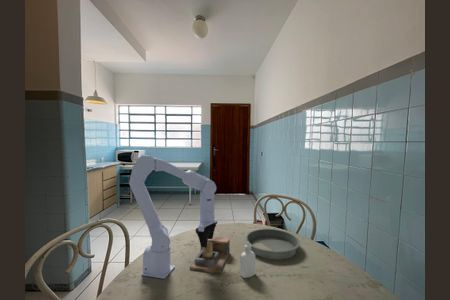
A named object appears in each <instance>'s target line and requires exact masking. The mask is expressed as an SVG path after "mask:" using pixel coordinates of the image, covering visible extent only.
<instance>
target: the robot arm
mask: <svg viewBox="0 0 450 300" xmlns="http://www.w3.org/2000/svg"><path fill="white" fill-rule="evenodd" d="M153 171H155V172H166V173H168V174H170V175H172V176H175V177H177V178H180V179H181V181H182V182H183V183H182V184H184V185H186V186H188V187H190V188H192V189H195V190H197V191H200V192H199V193H200V198H199V200H200V201H199V220H198V221H199V224H198V227H196V228H195V233H196V235H197V237H198V239H199V245H200V248H201V247H205V248H206V247H207V242H208V239H212V238H213V237H214V235H215V234H214V233H215V229H216V227H217V224H218V219H215V218H216V217H215V215H216V214H215V193H216V192H217V185H216V183H215V181H213V180H212V179H209V178H208V177H207V176H206V175H201V174H199V173H197V171H196V170H194V169H193V170H192V169H189V170H183V169H182V168H179V167H178V166H176V165H174V164H172V163H170V162H168V161H166V160H164V159H161V158H158V157H155V156H154V157H152V156H151V155H149V154H143V155H142V154H141V156H139V157H138V158H137V159H136V161H135V162H134V164H133V165H132V169H131V173H130V177H129V182H128V185H129V186H130V189H131V191H132V193H133V196H134V199H135V201H136V203H137V205H138V207H139V210H140V213H141V215H142V217H143V219H144V221H145V223H146V226H147V228H148V231H149V235H150V238H151V245H149V246H147V247H145V249H144V252H143V255H142V272H141V276H144V277H151V278H158V279H164V280H165V279H166V278H167V277H168V275H169V274H171V272H172V271H173V270H174V269H175V267H176V266H175V265H173V264H171V239H170V236H169V230H168V228H167V227H166V226H164V225H163V223H162V221H161V219H160V217H159V214H158V212H157V210H156V208H155V206H154V203H153V201H152V199H151V196H150V193H149V191H148V188H147V187H146V184H145V183H146V180H147V178H148V176H149V175H150V174H151V173H152V172H153Z"/></svg>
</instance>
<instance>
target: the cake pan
mask: <svg viewBox="0 0 450 300" xmlns="http://www.w3.org/2000/svg"><path fill="white" fill-rule="evenodd" d="M300 241H301V240H300V239H299V238H298V237H297V236H296V235H295V234H293V233H291V232H288V231H285V230H281V229H276V228H261V229H254V230H252V231H250V232H248V233H247V234H246V235H245V242H246V243H247V242H249V245H251V251H253V252H254V253H255V256H259V257H261V258H265V259H269V260H286V259H291V258H292V257H294V256H295V255H296V253H297V249H298V248H299V247H300V245H301V242H300ZM252 243H256V244H262V245H263V246H265V247H266V248H268V249H266V248H265V249H264V248H261V247H258V246H256V245H254V244H252Z"/></svg>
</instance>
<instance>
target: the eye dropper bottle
mask: <svg viewBox="0 0 450 300" xmlns="http://www.w3.org/2000/svg"><path fill="white" fill-rule="evenodd" d="M239 258H240V259H239V264H240V265H239V274H240V276H241V277H242V278H243V279H246V278H251V277H253V276H254V275H255V274H256V254H255V253H254V252H253V251H251V245H249V242H247V241H246V244H245V245H244V251H243V252H241V254H240V257H239Z"/></svg>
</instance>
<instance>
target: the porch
mask: <svg viewBox="0 0 450 300" xmlns="http://www.w3.org/2000/svg"><path fill="white" fill-rule="evenodd" d="M230 240H231V239H230V238H229V237H220V236H213V238H212V239H208V241H212V260H210V259H203V247H201V246H200V252H199V253H198V254H197V256H196V257H195V258H194V260H193V261H192V263H191V264H190V265H189V270H190V271H191V270H192V271H197V272H198V271H199V272H205V273H212V274H218V275H219V274H220V275H221V273H222V270H223V268H224V266H225V263H226V262H227V259H228V257H229V255H230V249H231V248H230V247H231V246H230V242H231V241H230Z"/></svg>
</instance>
